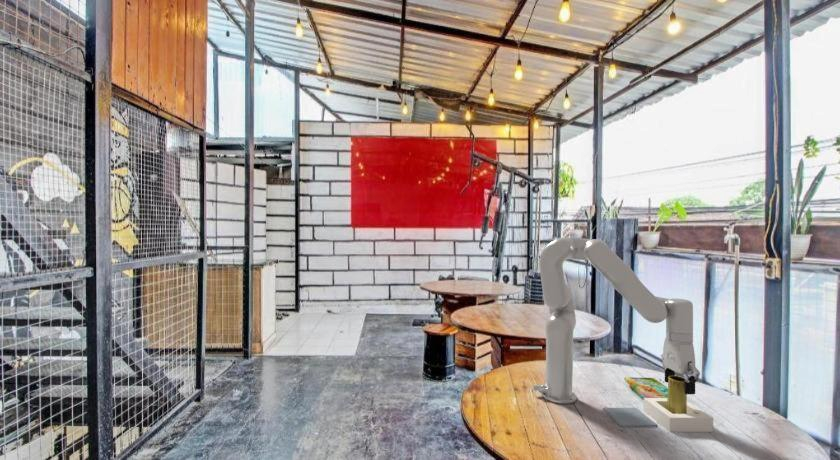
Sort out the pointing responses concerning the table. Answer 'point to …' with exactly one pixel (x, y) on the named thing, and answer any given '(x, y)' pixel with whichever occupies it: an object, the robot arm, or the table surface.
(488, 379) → the table surface
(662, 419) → the well board
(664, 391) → the puzzle game
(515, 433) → the table surface
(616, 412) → the mat
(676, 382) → the vase
